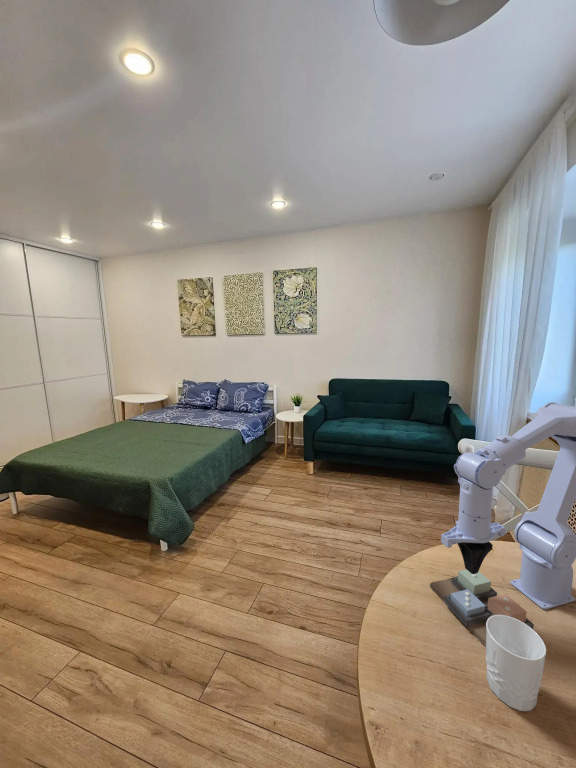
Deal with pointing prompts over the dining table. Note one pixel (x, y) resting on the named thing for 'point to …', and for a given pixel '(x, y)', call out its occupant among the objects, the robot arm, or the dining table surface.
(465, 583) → the tile one
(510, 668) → the white cup
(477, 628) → the board
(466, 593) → the tile three
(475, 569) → the robot arm
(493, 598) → the tile two
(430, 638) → the dining table surface
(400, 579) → the dining table surface
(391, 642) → the dining table surface
